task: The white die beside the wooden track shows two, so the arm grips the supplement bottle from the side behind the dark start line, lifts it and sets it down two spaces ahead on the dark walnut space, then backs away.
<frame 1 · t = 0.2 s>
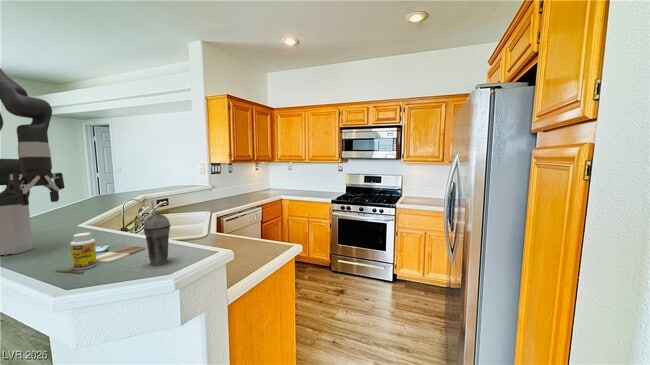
hand: (40, 203, 91), 18 cm above the countertop, tool pointing down, fingers open, 8 cm apart
supplement bottle: (84, 267, 81), on the countertop
beverage cup: (159, 263, 84), on the countertop
die: (154, 253, 92), on the countertop
game track: (108, 258, 89), on the countertop
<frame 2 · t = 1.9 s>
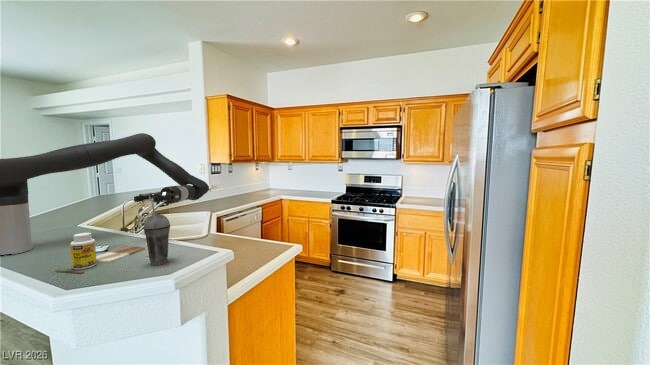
hand: (144, 199, 102), 18 cm above the countertop, tool horizontal, fingers open, 8 cm apart
nothing on the countertop moved.
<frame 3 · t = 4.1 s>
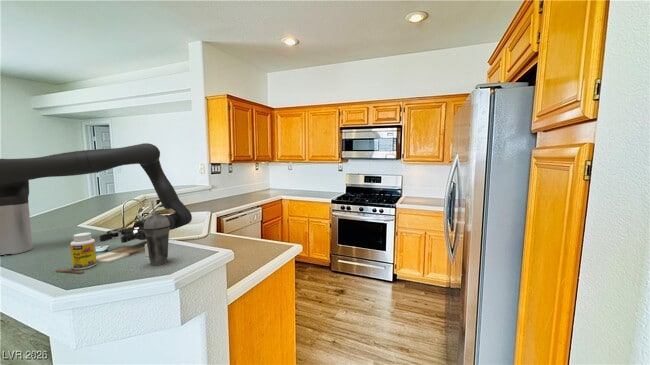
hand: (111, 239, 89), 6 cm above the countertop, tool horizontal, fingers open, 8 cm apart
nothing on the countertop moved.
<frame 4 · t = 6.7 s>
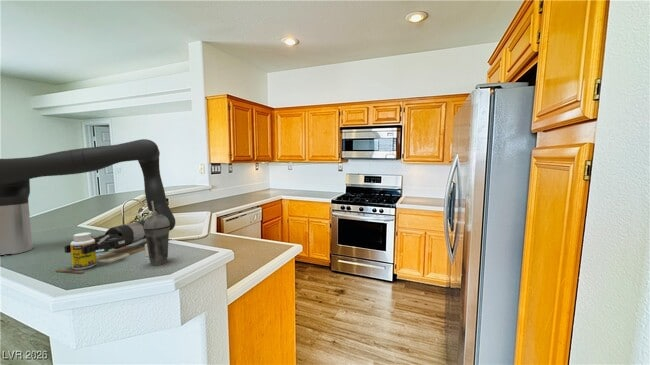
hand: (74, 250, 78), 6 cm above the countertop, tool horizontal, fingers closed on supplement bottle, 5 cm apart
supplement bottle: (84, 267, 81), on the countertop, touching gripper
everything else where it was.
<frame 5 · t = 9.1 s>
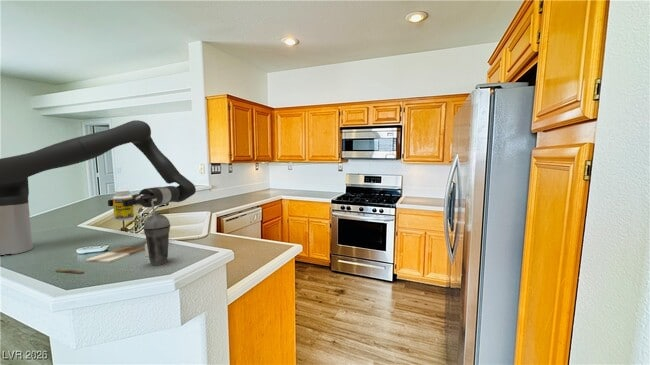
hand: (116, 203, 91), 18 cm above the countertop, tool horizontal, fingers closed on supplement bottle, 5 cm apart
supplement bottle: (124, 219, 94), point 12 cm above the countertop, touching gripper
everything else where it was.
when the fingers open (7 cm above the countertop, at t = 11.6 s): supplement bottle stays where it is, resting on game track.
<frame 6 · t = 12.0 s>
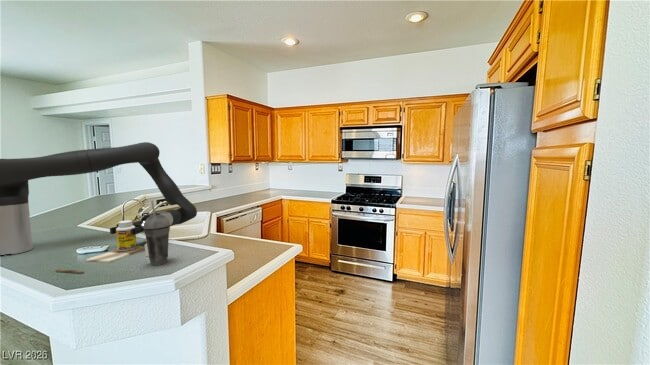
hand: (121, 231, 93), 8 cm above the countertop, tool horizontal, fingers open, 8 cm apart
supplement bottle: (127, 249, 95), resting on game track
everything else where it was.
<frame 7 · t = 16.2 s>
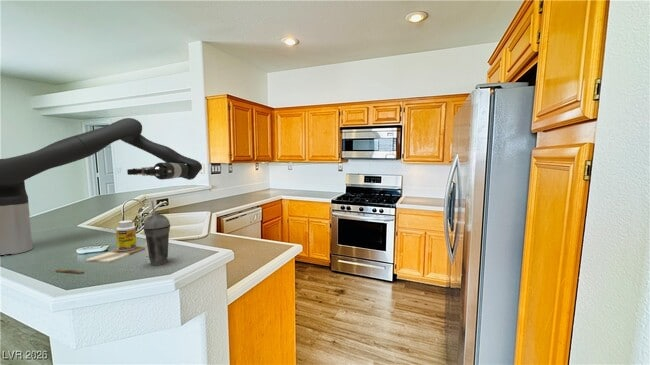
hand: (137, 172, 105), 28 cm above the countertop, tool horizontal, fingers open, 8 cm apart
nothing on the countertop moved.
at the end: supplement bottle 0.1 cm from the target spot, resting on game track; supplement bottle tilted 0°; the gripper is holding nothing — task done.
